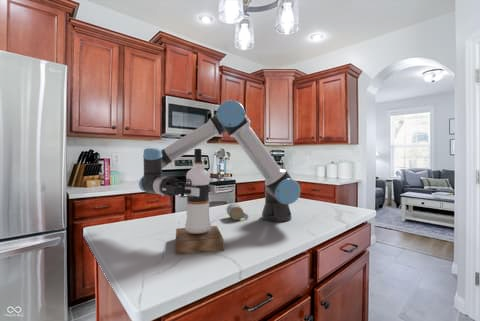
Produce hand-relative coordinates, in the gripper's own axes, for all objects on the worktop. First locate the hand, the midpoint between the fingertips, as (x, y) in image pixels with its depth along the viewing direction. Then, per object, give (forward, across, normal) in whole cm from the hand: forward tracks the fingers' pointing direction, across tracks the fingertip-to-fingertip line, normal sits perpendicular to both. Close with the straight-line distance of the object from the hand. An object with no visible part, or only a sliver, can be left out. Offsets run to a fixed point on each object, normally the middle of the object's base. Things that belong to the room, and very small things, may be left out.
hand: (207, 190), depth 86 cm
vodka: (-5, 0, -15) cm, 16 cm away
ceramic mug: (-15, -38, -20) cm, 45 cm away
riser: (-5, 0, -20) cm, 21 cm away
